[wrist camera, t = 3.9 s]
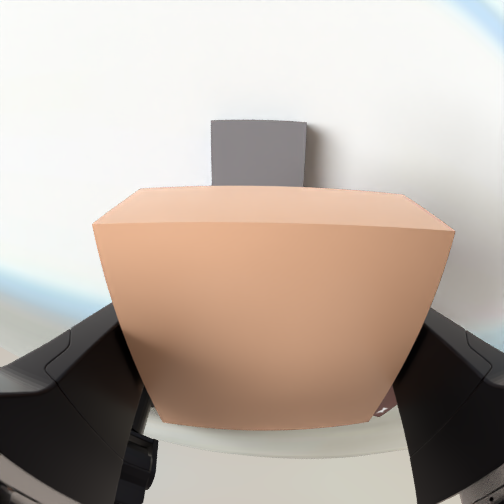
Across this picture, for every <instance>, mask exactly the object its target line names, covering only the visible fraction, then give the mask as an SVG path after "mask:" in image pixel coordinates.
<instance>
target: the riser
mask: <svg viewBox="0 0 504 504" xmlns="http://www.w3.org/2000/svg"><path fill="white" fill-rule="evenodd" d="M306 128H307V122H294V121H274V120H212V121H211V162H212V186H286V187H303V184H304V168H305V150H306Z"/></svg>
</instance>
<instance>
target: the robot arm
mask: <svg viewBox="0 0 504 504" xmlns="http://www.w3.org/2000/svg"><path fill="white" fill-rule="evenodd" d="M392 386H393V390H394V394H395V397H396V401H397V405H398V408H399V412H400V416H401V420H402V424H403V428H404V433H405V437H406V441H407V446H408V451H409V455H410V461H411V467H412V472H413V478H414V484H415V490H416V497H417V504H439V503H441V502H443V501H445V500H447V499H449V498H451V497H453V496H455V495H457V494H460V498H461V502H462V504H504V353H503V352H501V351H500V350H498V349H496V348H494V347H493V346H491V345H489V344H488V343H486V342H484V341H483V340H481V339H479V338H478V337H476V336H475V335H473V334H472V333H470V332H468V331H465V329H464V328H462V327H461V326H459V325H457V324H456V323H454V322H453V321H451V320H449V319H448V318H446V317H445V316H443V315H441V314H440V313H438V312H437V311H435V310H433V309H432V308H430V309H429V311H428V314H427V316H426V318H425V321H424V323H423V325H422V327H421V330H420V332H419V334H418V336H417V338H416V340H415V342H414V344H413V346H412V349H411V351H410V352H409V354H408V356H407V358H406V360H405V362H404V364H403V366H402V368H401V370H400V371H399V373H398V375H397V377H396V379H395V380H394V382H393V384H392ZM151 407H155V406H154V404H153V402H152V400H151V398H150V396H149V394H148V392H147V390H146V387H145V385H144V383H143V381H142V379H141V376H140V374H139V372H138V369H137V367H136V365H135V362H134V360H133V358H132V355H131V353H130V350H129V348H128V345H127V342H126V340H125V337H124V334H123V332H122V329H121V326H120V323H119V320H118V318H117V315H116V312H115V309H114V306H113V302H112V303H110V304H109V305H107V306H105V307H104V308H102V309H101V310H99V311H97V312H96V313H94V314H93V315H91V316H89V317H88V318H86V319H85V320H83V321H81V322H80V323H78V324H77V325H75V326H73V327H72V328H71V330H70V329H69V330H67V331H66V332H64V333H62V334H61V335H59V336H58V337H56V338H54V339H53V340H51V341H50V342H48V343H46V344H44V345H42V346H41V347H39V348H37V349H35V350H34V351H32V352H30V353H28V354H26V355H24V356H23V357H21V358H19V359H17V360H15V361H14V362H12V363H10V364H8V365H6V366H3V367H0V504H142V503H143V500H144V494H145V490H148V489H149V487H150V486H151V484H152V482H153V480H154V477H155V472H156V461H157V450H158V440H156V439H151V438H149V437H146V436H144V435H143V433H144V429H145V425H146V422H147V418H148V415H149V412H150V408H151Z"/></svg>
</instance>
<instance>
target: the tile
mask: <svg viewBox="0 0 504 504" xmlns="http://www.w3.org/2000/svg"><path fill="white" fill-rule="evenodd" d="M92 226H93V231H94V235H95V240H96V244H97V249H98V253H99V257H100V261H101V265H102V268H103V272H104V276H105V279H106V283H107V286H108V289H109V293H110V296H111V299H112V302H113V306H114V309H115V312H116V315H117V318H118V320H119V323H120V326H121V329H122V332H123V334H124V337H125V340H126V342H127V345H128V348H129V350H130V353H131V355H132V358H133V360H134V362H135V365H136V367H137V369H138V372H139V374H140V376H141V379H142V381H143V383H144V385H145V387H146V390H147V392H148V394H149V396H150V398H151V400H152V402H153V404H154V406H155V408H156V410H157V412H158V414H159V416H160V418H161V420H162V422H165V423H171V424H178V425H186V426H194V427H204V428H216V429H231V430H297V429H313V428H324V427H334V426H342V425H350V424H357V423H363V422H369V420H370V419H371V417H372V416H373V414H374V413H375V411H376V410H377V408H378V407H379V405H380V404H381V402H382V400H383V399H384V397H385V396H386V394H387V392H388V391H389V389H390V387H391V386H392V384H393V382H394V380H395V379H396V377H397V375H398V373H399V371H400V370H401V368H402V366H403V364H404V362H405V360H406V358H407V356H408V354H409V352H410V351H411V349H412V346H413V344H414V342H415V340H416V338H417V336H418V334H419V332H420V330H421V327H422V325H423V323H424V321H425V318H426V316H427V314H428V311H429V309H430V306H431V304H432V301H433V299H434V296H435V293H436V291H437V288H438V285H439V283H440V280H441V277H442V274H443V271H444V268H445V265H446V262H447V259H448V255H449V252H450V249H451V245H452V242H453V238H454V234H455V231H454V230H453V229H452V228H451V227H449V226H448V225H447V224H445V223H444V222H442V221H441V220H440V219H438V218H437V217H436V216H434V215H433V214H431V213H430V212H428V211H427V210H426V209H424V208H423V207H421V206H420V205H418V204H417V203H415V202H414V201H412V200H411V199H409V198H408V197H406V196H405V195H402V194H392V193H382V192H371V191H359V190H346V189H330V188H311V187H286V186H185V187H160V188H142V189H139V190H138V191H136V192H135V193H133V194H132V195H131V196H129V197H128V198H126V199H125V200H124V201H122V202H121V203H119V204H118V205H117V206H115V207H114V208H113V209H111V210H110V211H109V212H107V213H106V214H105V215H103V216H102V217H101V218H99V219H98V220H97V221H95V222H94V223H93V224H92Z"/></svg>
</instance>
